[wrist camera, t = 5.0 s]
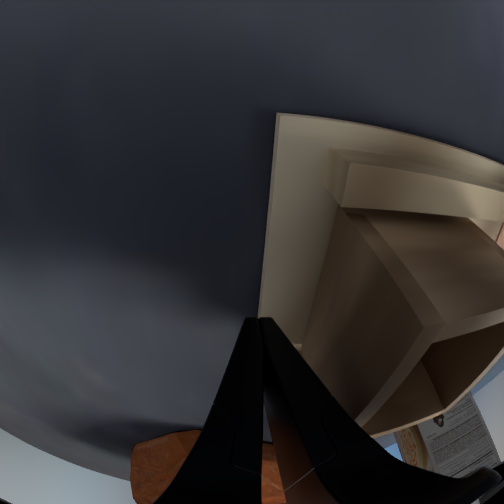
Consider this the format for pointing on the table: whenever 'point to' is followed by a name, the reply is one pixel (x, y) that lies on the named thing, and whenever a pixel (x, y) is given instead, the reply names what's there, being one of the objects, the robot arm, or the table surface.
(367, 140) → the beige cubby shelf
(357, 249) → the crate
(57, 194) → the table surface
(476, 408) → the coffee box
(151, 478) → the bread
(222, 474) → the robot arm
